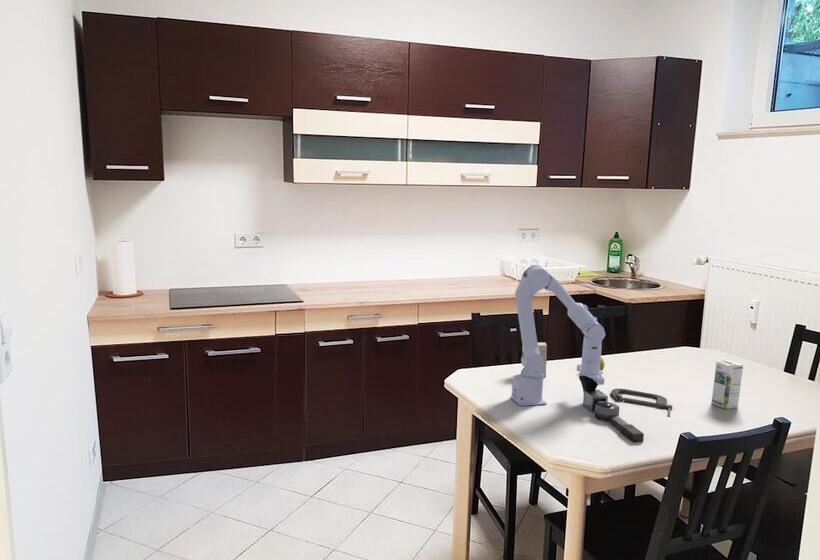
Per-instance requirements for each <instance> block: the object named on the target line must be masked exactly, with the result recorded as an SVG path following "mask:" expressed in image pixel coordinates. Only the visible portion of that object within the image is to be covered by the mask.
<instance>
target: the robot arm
mask: <svg viewBox="0 0 820 560" xmlns="http://www.w3.org/2000/svg"><path fill="white" fill-rule="evenodd" d="M543 289H544V290H545V291H548V292H551V293H553V294H554V295H555V297H557V298H558V300H560V301H561V303H562V304H563V305H564V306H565V307H566V309H567V316H568V317H569V319H571V321H572V322H573V323H574V324H575V326H577V327H578V328H579V330H581V333H582V334H583V341H582V354H581V355H582V356H581V364H577V365H576V371H577V372H580V374H581V375H579V377H578V379H579V381H580V383H581V388H582V392H583V393H584V390H597V387H598V386H601V385H602V386H604V385H605V378H604V377H603V371H601V370H600V360H601V357H602V347H603V345H602V342H603V340H604V338H605V337H606V332H605V328H604V327H603V326H602V325H601V324H600V323H599V322H598V318H597V317H596V316H593V314H592V313H591V312H590V311H589V310H588V309H589V307H588V305H586V304H583V303H581V302H576V301H575V300H574V299H573V298H572V296H571V295H570V294H569V293H568V291H567V290H566V289H565V288H564V286H563V285H562V284H561V283H560V282H559V280H557V279H556V278H555V277H553V275H551V273H549V272H548V271H547V270H546V269H544V268H543V266H541V265H539V264H532V265H530V266H529V267H527V268H526V269H525V270H524V271H523V272H522V275H521V278H520V280H519V283H518V285H517V287H516V289H515V291H514V292H515V293H514V296H515V301H516V303H515V304H516V308H517V316H518V323H519V330H520V337H521V343H522V344H521V345H522V355H521V356H520V357H521V358H520V362H521V365H522V366H523V367H522V369H521V370H520V373H519V374H515V375H513V376H512V381H511V395H510V398H511V399H512V400H513V401H514V402H515V403H516V405H518V406H537V405H538V406H540V405H547V402H546V400H544V398H543V387H544V377H543V375H544V374H543V373H544V371H545V365H544V363H543V361H542V360H541V357H540V352H539V348H538V343H537V342H538V337H537V332H536V331H537V330H536V325H535V324H536V323H535V318H534V317H535V315H534V312H533V310H534V309H533V303H532V302H533V301H532V298H533V297H534V296H535V295H536V294H537V293H538V292H540V291H541V290H543Z"/></svg>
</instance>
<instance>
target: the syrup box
mask: <svg viewBox="0 0 820 560" xmlns="http://www.w3.org/2000/svg"><path fill="white" fill-rule="evenodd" d="M743 370H744V364H740V363H737V362H734V361H732V360H727V359H722V360H717V361H716V363H715V370H714V380H713V387H712V396H711V401H710V402H711V404H712V405H715V406H718V407H719V408H722V409H724V410H729V409H734V408H738V407H739V401H740V394H741V393H740V392H741V385H742V384H741V383H742V379H743V378H742V377H743Z"/></svg>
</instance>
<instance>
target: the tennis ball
mask: <svg viewBox="0 0 820 560" xmlns="http://www.w3.org/2000/svg"><path fill="white" fill-rule="evenodd" d="M604 369H605V361H604V359H603V357H602V356H601V360H600V370H601V371H602V372H603V370H604Z"/></svg>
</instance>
